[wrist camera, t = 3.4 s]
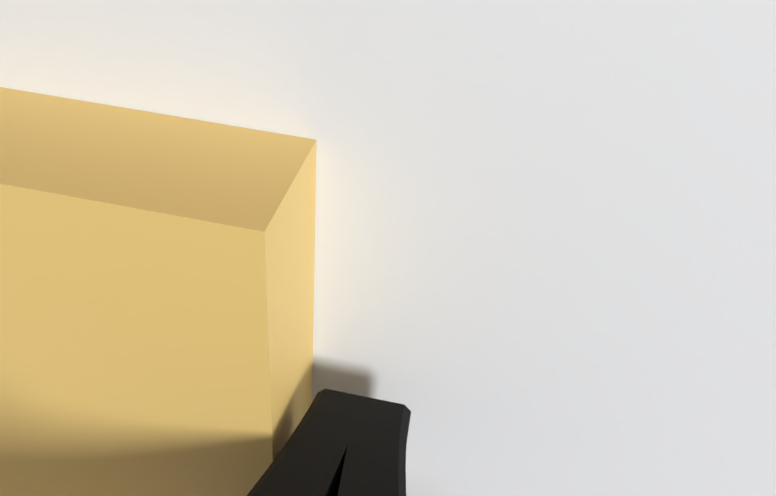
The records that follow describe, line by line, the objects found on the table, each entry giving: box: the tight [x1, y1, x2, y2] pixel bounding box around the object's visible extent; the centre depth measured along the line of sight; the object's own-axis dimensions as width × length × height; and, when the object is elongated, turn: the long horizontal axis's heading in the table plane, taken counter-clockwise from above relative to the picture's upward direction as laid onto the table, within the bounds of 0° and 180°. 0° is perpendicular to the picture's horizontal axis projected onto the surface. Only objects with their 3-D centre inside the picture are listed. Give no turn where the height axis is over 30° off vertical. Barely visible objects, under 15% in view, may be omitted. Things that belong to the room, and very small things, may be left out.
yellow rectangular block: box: [0, 87, 316, 496], centre depth 11 cm, size 9×6×2 cm, turn 175°
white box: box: [0, 0, 776, 496], centre depth 14 cm, size 14×22×4 cm, turn 86°
